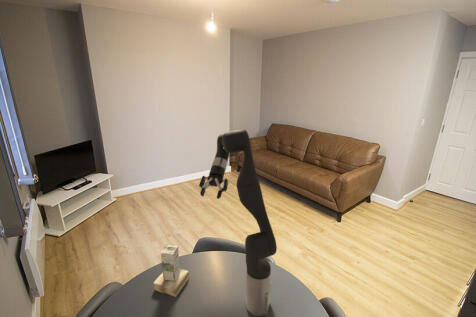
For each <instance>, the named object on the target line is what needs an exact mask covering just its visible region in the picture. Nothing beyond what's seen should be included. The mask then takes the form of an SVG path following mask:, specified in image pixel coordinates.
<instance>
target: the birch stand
mask: <svg viewBox="0 0 476 317" xmlns="http://www.w3.org/2000/svg"><path fill="white" fill-rule="evenodd" d="M189 271H190V270H186V269H183V268H180V274H179V276H178V278H177V279H176V281H168V280H164V279H163V271H162V273H161V274H159V276H157V278H156V279H155V281H153V290H154V291H155V292H159V293H162V294H166V295H169V296H171V297H176V298H177V296H178V295H179V293H180V292H181V290H182V289H183V287H184V286H185V285H186V284H187V282H188V280H189V279H190V272H189Z"/></svg>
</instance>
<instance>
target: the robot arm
mask: <svg viewBox="0 0 476 317" xmlns="http://www.w3.org/2000/svg"><path fill="white" fill-rule="evenodd" d="M252 150H253V149H252V144H251V140H250V135H249V133H248V131H247V130H246V129H245V128H243V129H236V130H230V131H226V132H225V133H221V134H219V135H218V137H217V138H216V153H215V157H214V158H213V162H212V164H211V167H210V170H209V174H208V176H205V175H203V176H202V177H201V179H200V182H199V184H198V186H199V187H200V193H199V195H200V196H201V197H204V196H205V193H206V189H208V188H210V187H215V188H217V187H218V191H217V195H216V199H218V200H220V199H221V198H222V194H223V192H227V191H228V186H229V180H228V179H227V178H225V179H224V176H225V173H226V171H227V166H228V161H229V158H230V154H235V153H241V152H242V153H243V155H244V156H243V162H242V166H241V169H240V172H239V175H238V177H237V180H236V189H237V190H236V191H237V193H238V198H239V201H240V203H241V204H242V206H243V207H244V208H245V209H246V210H247V211H248V212H249V213H250V215H252V217H254V220H255V221H256V222H257V225H258V229H259V232H254V233H251V234H249V235H247V236H246V238H245V242H244V243H245V244H244V247H245V250H244V251H245V264H246V297H245V298H246V300H245V304H246V306H245V307H246V310H247V311H248V312H249V314H250V315H253V316H255V317H262V316H268V313H269V309H270V305H271V291H272V284H271V272H272V271H271V270H272V268H271V263H270V262H269V261H268V260H267V259H265V258H269V257H272V256H274V255H275V254H276V253H277V250H278V248H277V241H276V238H275V234H274V231H273V228H272V224H271V223H270V218H269V216H268V213H267V210H266V205H265V202H264V196H263V192H262V188H261V184H260V180H259V177H258V173H257V169H256V165H255V162H254V157H253V151H252ZM222 183H223V186H222V185H221V184H222Z"/></svg>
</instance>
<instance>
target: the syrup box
mask: <svg viewBox="0 0 476 317" xmlns="http://www.w3.org/2000/svg"><path fill="white" fill-rule="evenodd" d="M179 255H180V254H179V246H178V245H168V244H166V245H165V246H164V247H163V248H162V250H161V252H160V258H161V266H162V268H161V269H162V272H163V279H164V280H168V281H176V279H177V278H178V276H179V274H180V269H181V266H180V257H179Z"/></svg>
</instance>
